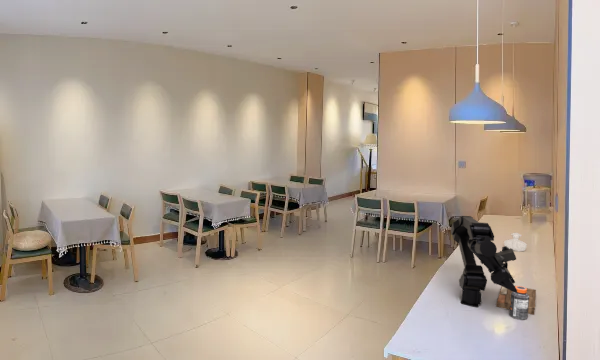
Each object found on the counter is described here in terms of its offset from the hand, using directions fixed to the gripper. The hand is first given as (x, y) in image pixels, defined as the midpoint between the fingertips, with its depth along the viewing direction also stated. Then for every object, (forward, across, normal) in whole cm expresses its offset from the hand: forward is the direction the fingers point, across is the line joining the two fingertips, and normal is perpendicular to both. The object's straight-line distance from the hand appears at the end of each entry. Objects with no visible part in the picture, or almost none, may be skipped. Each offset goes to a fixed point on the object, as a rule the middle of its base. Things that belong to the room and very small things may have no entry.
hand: (515, 287), depth 147 cm
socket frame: (+10, +16, +6) cm, 20 cm away
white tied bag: (+14, +100, +3) cm, 101 cm away
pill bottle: (+9, 0, +7) cm, 11 cm away
